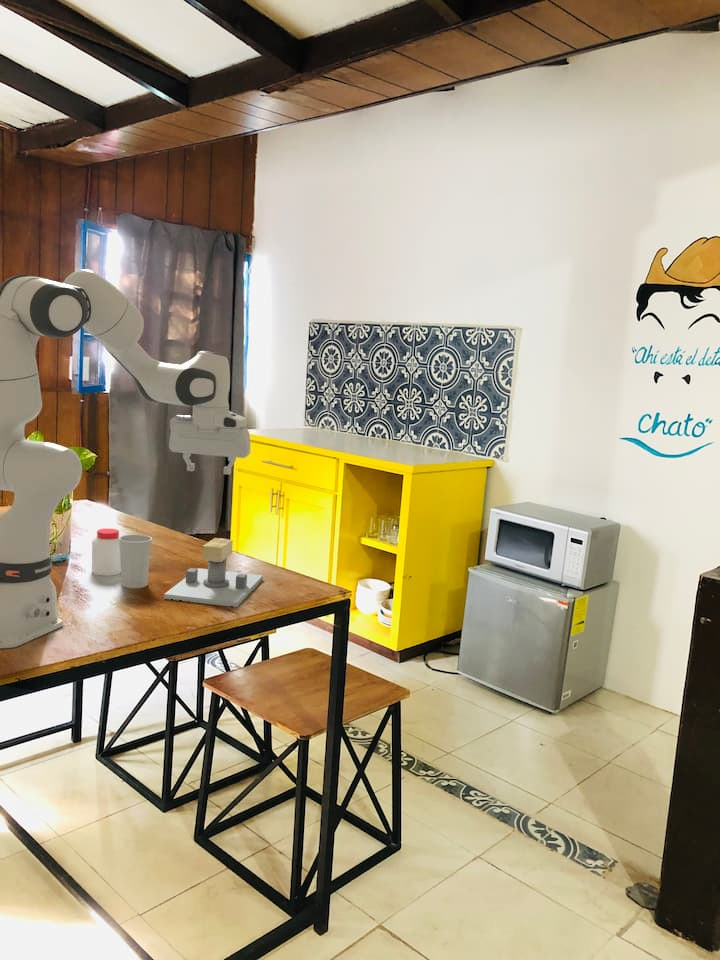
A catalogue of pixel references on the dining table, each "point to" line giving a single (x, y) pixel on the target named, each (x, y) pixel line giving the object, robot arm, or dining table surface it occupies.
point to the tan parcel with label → (217, 550)
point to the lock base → (214, 586)
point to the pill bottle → (106, 553)
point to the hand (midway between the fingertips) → (208, 472)
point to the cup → (134, 560)
